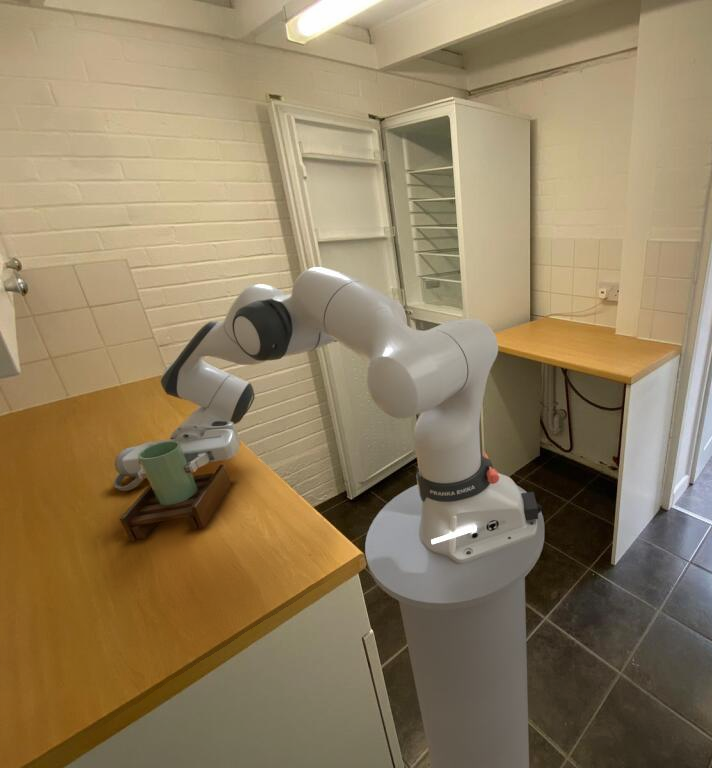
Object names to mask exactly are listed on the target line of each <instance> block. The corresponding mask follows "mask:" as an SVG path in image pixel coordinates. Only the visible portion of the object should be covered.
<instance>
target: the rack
mask: <svg viewBox="0 0 712 768" xmlns="http://www.w3.org/2000/svg"><path fill="white" fill-rule="evenodd" d="M193 477H194V479H195V482H196V484H197V487H198V490H197V492H196V493H195V494H194V495H193V496H191V497H190V498H188V499H186V500H184V501H182V502H179V503H176V504H172V505H162V504H160V503H159V501H158V500H157V498H156V496H155V494H154V492H153V489H152V487H151V485H150V484H149V485H148V486H147V487H146V489H144V491H143V492H142V493H141V494H140V496H139V497H137V499H136V500H135V501H134V502H133V503H132V504H131V506H130V507H129V508H128V509H127V510H126V511H125V512H124V513H123V515H121V517H119V521H120V523H121V525H122V527H123V529H124V531H125V533H126V535H127V537H128V539H129V541H130V542H135V541H141V540H145V539H146V538H147V537H148V535H150V532H152V530H153V529H154V527H155V526H156V525H157V524H158V523H159V522H165V521H170V520H176V519H181V518H182V519H183V518H186V523H187V524H188V527H189V529H190V531H191V532H193V531H198V530H204V529H206V527H207V525H208V523H209V521H210V520H211V518H212V516H213V515H214V514H215V511H216V510H217V508H218V507H219V505H220V503H221V501H222V500H223V498H224V497H225V495H226V493H227V492H228V490H229V488H230V486H231V485H232V482H231V480H230V477H229V474H228V471H227V469H226V466H225V463H222V464H219V466H218V467H217V468H216V470H215V471H214V472H211V473H205V474H198V475H193Z"/></svg>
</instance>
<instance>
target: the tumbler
mask: <svg viewBox="0 0 712 768" xmlns="http://www.w3.org/2000/svg"><path fill="white" fill-rule="evenodd" d="M138 459H139V461H140V463H141V465H142V467H143V470H144V472H145V474H146V476H147V478H148V479H147V481H148V482H149V485H151V487H152V489H153V492H154V494H155V496H156V498H157V500H158V501H159V503H160V504H162V505H172V504H176V503H179V502H182V501H184V500H186V499H188V498H190V497H191V496H193V495H194V494H195V493H196V492H197V490H198V487H197V484H196V482H195V479H194V477H193V476H194V474H193V472H191V473H186V472H185V471H186V470H184V466H185V465H186V463H187V459H186V457H185V454H184V452H183V449H182V447H181V444H180V443H179V442H177V441H166V442H161V443H157V444H154V445H152V446H149V447H147V448H145V449H144V450H142V451H141V452H140V453H139V454H138Z"/></svg>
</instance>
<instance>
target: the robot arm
mask: <svg viewBox="0 0 712 768" xmlns="http://www.w3.org/2000/svg"><path fill="white" fill-rule="evenodd" d="M337 342H338V343H340V344H341V345H342V346H344V347H345V348H347V349H348V350H350V351H352V352H353V353H355V354H356V355H358V357H360V358H361V359H362V360H363V361H364V362H365V363H366V365H367V369H366V377H365V380H366V388H367V391H368V394H369V396H370V398H371V400H372V401H373V403H374V404H375V406H376V407H378V408H379V410H381V411H382V412H384V413H385V414H386V415H389V416H390V417H393V418H396V419H406V418H410V417H413V416H416V415H419V416H418V418H417V420H416V422H415V425H414V428H413V429H414V430H413V440H414V446H415V454H416V460H417V466H416V474H415V475H416V476H415V477H416V483H417V484H418V491H419V495H420V497H421V500H422V511H421V521H420V526H419V537H420V540H421V542H422V543H423V544H424V545H425V546H426V547H427V548H428V549H430V550H432V551H434V552H436V553H439V554H443V555H446V556H449V557H450V558H451V559H452V560H453V561H455V562H456V563H459V564H465V563H467V562H470V561H473V560H475V559H478V558H481V557H483V556H486V555H489V554H491V553H494V552H496V551H499V550H502V549H504V548H507V547H510V546H512V545H515V544H518V543H520V542H523V541H526V540H528V539H531V538H533V537H534V536H535V535H536V532H537V519H538V514H539V513H540V512H541V513H542V506H541V504H539V503H537V499H536V495H535V492H534V491H530V492H529V491H527V493H522V492H520V491H519V489H518V487H517V486H518V485H517V484H516V482H515V481H514V480H513V479H512V478H511V477H510V476H508V475H505V474H503V473H500V472H498V471H497V469H496V468H493V463H492V460H491V459H490V458H489V457H488V456H489V455H488V454H487V453H486V452H485V451H484V452H483V455H482V454H481V438H480V437H481V436H480V435H481V434H480V424H481V423H480V422H481V415H482V414H481V413H482V407H483V403H484V398H485V397H484V396H485V392H486V387H487V383H488V378H489V375H490V373H491V369H492V368H493V365H494V363H495V361H496V360H497V357H498V354H499V343H498V339H497V336H496V334H495V332H494V331H493V329H492V328H491V327H490V326H489V324H487V323H486V322H484V321H482V320H481V319H477V318H458V319H451V320H449V321H446V322H444V323H442V324H439V325H437V326H434V327H431V328H429V329H426V330H419V329H415V328H412V327H410V326H409V325H408V317H407V314H406V310H405V307H404V306H403V305H402V303H400V302H399V301H398V300H396V299H395V298H393V297H391V296H389V295H388V294H386V293H385V292H382V291H380V290H379V289H376V288H375V287H373V286H371V285H369V284H367V283H366V282H364V281H362V280H360V279H358V278H356V277H354V276H351V275H349V274H346V273H344V272H342V271H338V270H335V269H332V268H328V267H323V266H314V267H310V268H307V269H305V270H304V271H302V272H301V273H300V274H299V275H298V276H297V277H296V278H295V280H294V282H293V285H292V289H291V293H288V294H285V293H284V291H282V290H281V289H280V288H277V287H275V286H272V285H270V284H265V283H256V284H252V285H249V286H247V287H245V288H244V289H243V290H242V291H241V292H240V293H239V295H237V297H236V298H235V300H234V301H233V303H232V304H231V306H230V308H229V309H228V311H227V314H226V316H225V318H224V320H221V321H218V320H217V321H216V320H215V321H214V320H212V321H211V320H210V321H209V322H207V323H205V324H204V325H203V326H202V327H201V328H200V329H199V330H198V331H197V332H196V334H194V335H193V337H192V338H191V340H190V341H188V343H187V345H185V347H184V348H183V350H182V351H181V352H180V354H179V355H178V356H177V358H176V359H174V360H173V361H172V362H171V363H170V364H169V365H168V366H167V367H166V368H165V370H164V371H163V373H162V375H161V379H160V384H161V387H162V389H163V391H164V392H165V394H166V395H168V396H171V397H174V398H177V399H180V400H184V401H187V402H189V403H191V404H194V405H196V406H197V408H196V409H194V411H192V412H191V413H190V414H189V416H188V417H187V418H186V419H184V420H183V421H182V422H181V423H180V424H179V425H178V427H176V428H175V429H174V430H173V431H172V433H171V435H170V438H169V439H162V440H161V439H160V440H154V441H153V440H152V441H148V442H144V443H142V444H140V445H137V446H138V447H137V448H135V449H134V450H132V451H131V452H130V453H128V454H127V455H126V456H125V457H124V458H123V459H122V463H123V466H124V468H125V469H126V471H127V472H128V473H130V474H133V473H138V476H139V478H140V480H143V481H144V480H148V478H147V476H146V474H145V472H144V470H143V467H142V465H141V463H140V461H139V459H138V454H139V453H140V452H141V451H142V450H144V449H145V448H147V447H149V446H152V445H154V444H157V443H161V442H166V441H177V442H179V443H180V444H181V447H182V449H183V452H184V454H185V457H186V459H187V463H186V465H185V466H184V470H186V471H185V472H186V473H191V472H192V473H195V472H196V471H197V470H198V469H200V468H201V467H203V466H205V465H207V464H209V463H216V462H224V461H230V460H232V459H233V458H235V457H236V455H237V454H238V452H239V450H240V446H241V439H240V435H239V432H238V429H237V426H236V425H237V424H238V423H240V422H241V421H242V419H243V418H244V417H245V415H247V413H248V411H249V410H250V408H251V407H252V404H253V403H254V401H255V396H256V395H255V390H254V387H253V385H252V384H251V382H248V381H247V380H244V379H242V378H241V377H238V376H236V375H234V374H231V373H229V372H227V371H225V370H222V369H220V368H218V367H215V366H214V365H211V364H209V363H207V362H206V361H205V360H204V359H205V357H210V358H216V359H220V360H223V361H227V362H230V363H233V364H236V365H241V366H255V365H260V364H264V363H265V362H268V361H278V360H280V359H282V358H284V357H291V356H294V355H299V354H302V353H306V352H312V351H315V350H318V349H322V348H323V347H325V346H328V345H330V344H332V343H337ZM417 484H416V485H417ZM531 524H532V525H531ZM467 554H469V555H467Z"/></svg>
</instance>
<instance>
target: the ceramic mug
mask: <svg viewBox="0 0 712 768" xmlns="http://www.w3.org/2000/svg"><path fill="white" fill-rule="evenodd" d="M138 446H139V445H137V446H136V445H134V446H131V447H127V448H125V449H123V450H121V451H120V452H119V453H118V454H117V456H116V458H115V460H114V461H115V462H114V466H115V470H116V471H117V473H118V475H116V478H114V481H113V486H114V488H115V489H117V490H119V491H121V492H128V491H131V490H133V489H135V488H136V487H138V486H139V485H140V484H141V483H142V482H143V481H144V480H140V478H139V476H138V473H133V474H130V473H128V472H127V471H126V469H125V468H124V466H123V463H122V459H123V458H124V457H125V456H126V455H127V454H128V453H130V452H131V451H132V450H134V449H135V448H137V447H138ZM126 477H127V478H134V479H133V480H132V481H131V482H130V483H128V484H126V485H124V486H122V485H121V484H122V482H123V481H124V479H125V478H126Z"/></svg>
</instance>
